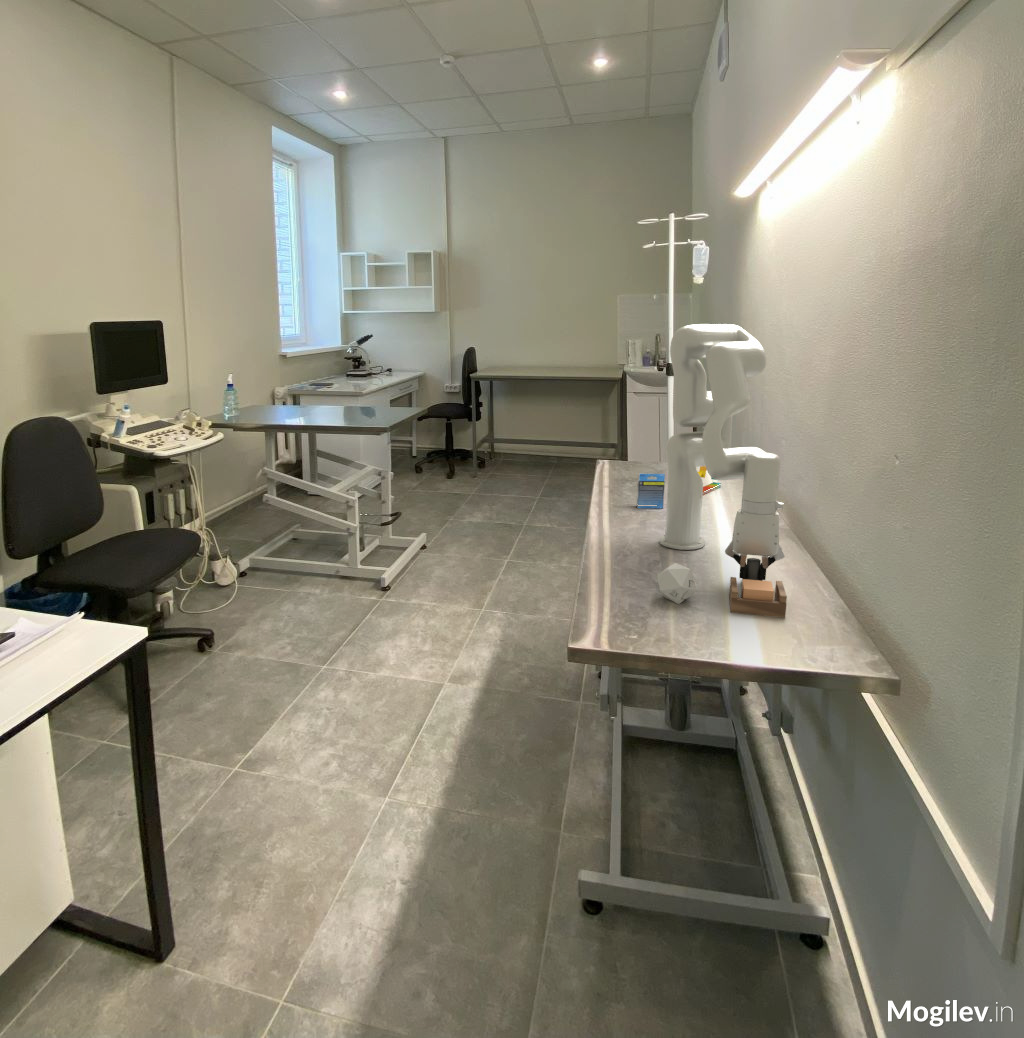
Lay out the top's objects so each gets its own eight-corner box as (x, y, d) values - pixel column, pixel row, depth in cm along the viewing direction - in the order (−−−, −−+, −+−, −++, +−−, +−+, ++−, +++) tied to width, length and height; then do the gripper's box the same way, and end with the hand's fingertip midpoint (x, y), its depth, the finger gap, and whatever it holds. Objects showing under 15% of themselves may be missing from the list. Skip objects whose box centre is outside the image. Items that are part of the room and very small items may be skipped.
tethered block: (738, 580, 158) (740, 557, 156) (764, 582, 156) (766, 558, 154) (742, 610, 141) (744, 584, 139) (771, 613, 139) (774, 586, 137)
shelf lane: (729, 595, 149) (730, 576, 147) (779, 600, 146) (781, 581, 145) (730, 612, 140) (732, 592, 138) (784, 617, 137) (787, 597, 136)
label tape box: (662, 506, 228) (663, 471, 225) (663, 509, 224) (665, 473, 221) (636, 505, 229) (637, 471, 226) (637, 508, 225) (638, 473, 222)
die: (657, 608, 144) (686, 580, 139) (642, 579, 150) (669, 551, 144) (683, 614, 148) (712, 587, 143) (668, 585, 154) (695, 558, 149)
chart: (687, 503, 233) (689, 461, 229) (679, 502, 235) (681, 460, 231) (721, 488, 255) (724, 450, 251) (713, 487, 257) (716, 449, 253)
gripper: (794, 504, 152) (787, 579, 157) (720, 501, 156) (715, 573, 161) (799, 512, 145) (790, 590, 150) (721, 508, 149) (716, 584, 154)
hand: (751, 581), depth 155 cm, fingers closed on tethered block, 3 cm apart
